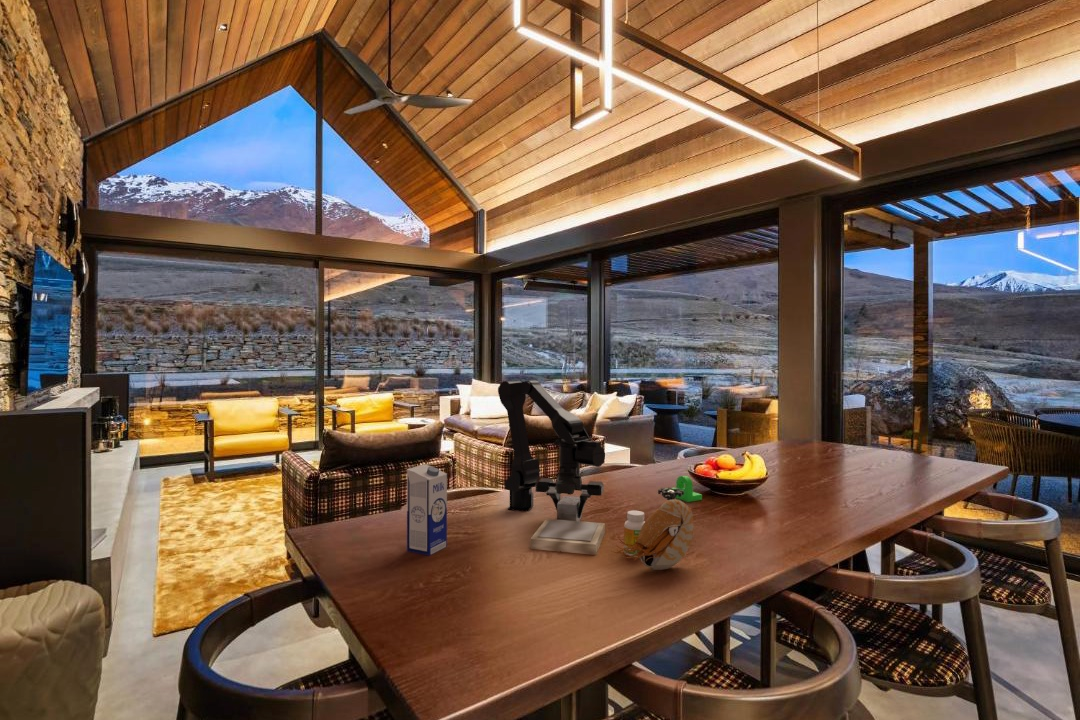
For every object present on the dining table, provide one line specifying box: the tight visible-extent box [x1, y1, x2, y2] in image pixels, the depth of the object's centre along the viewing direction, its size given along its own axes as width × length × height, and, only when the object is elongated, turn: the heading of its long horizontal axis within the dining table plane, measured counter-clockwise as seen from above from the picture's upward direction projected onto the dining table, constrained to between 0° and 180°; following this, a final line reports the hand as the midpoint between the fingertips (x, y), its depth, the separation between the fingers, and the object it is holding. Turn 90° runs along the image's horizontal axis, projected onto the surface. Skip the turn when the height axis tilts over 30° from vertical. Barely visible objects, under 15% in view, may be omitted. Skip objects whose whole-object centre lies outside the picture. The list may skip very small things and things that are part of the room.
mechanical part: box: [664, 475, 703, 503], centre depth 182 cm, size 12×6×8 cm, turn 27°
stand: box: [529, 518, 606, 556], centre depth 138 cm, size 16×17×3 cm
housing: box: [556, 495, 583, 521], centre depth 154 cm, size 5×10×6 cm, turn 166°
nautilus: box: [611, 498, 694, 571], centre depth 118 cm, size 8×22×15 cm, turn 119°
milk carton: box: [406, 463, 448, 556], centre depth 131 cm, size 7×7×20 cm
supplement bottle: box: [623, 510, 646, 557], centre depth 129 cm, size 5×5×10 cm
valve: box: [657, 487, 684, 501], centre depth 141 cm, size 7×7×12 cm
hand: (569, 517), depth 154 cm, fingers closed on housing, 5 cm apart
